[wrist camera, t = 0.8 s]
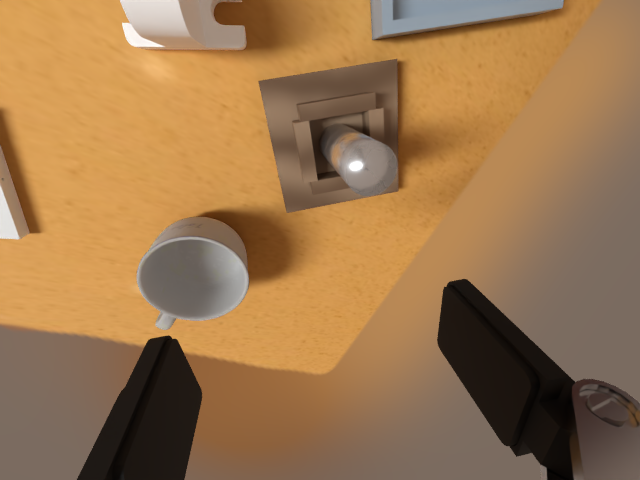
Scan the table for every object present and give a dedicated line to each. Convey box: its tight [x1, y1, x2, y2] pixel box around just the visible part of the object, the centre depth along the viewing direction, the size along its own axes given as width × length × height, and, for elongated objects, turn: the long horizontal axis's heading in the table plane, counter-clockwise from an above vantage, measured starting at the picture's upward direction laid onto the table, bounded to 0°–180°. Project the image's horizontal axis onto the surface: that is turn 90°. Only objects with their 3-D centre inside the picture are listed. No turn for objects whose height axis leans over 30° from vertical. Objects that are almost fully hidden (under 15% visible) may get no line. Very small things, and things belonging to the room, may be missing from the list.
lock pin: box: [319, 123, 398, 196], centre depth 26 cm, size 4×4×12 cm
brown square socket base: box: [259, 59, 398, 213], centre depth 31 cm, size 14×14×4 cm
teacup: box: [137, 217, 249, 330], centre depth 33 cm, size 14×11×8 cm
